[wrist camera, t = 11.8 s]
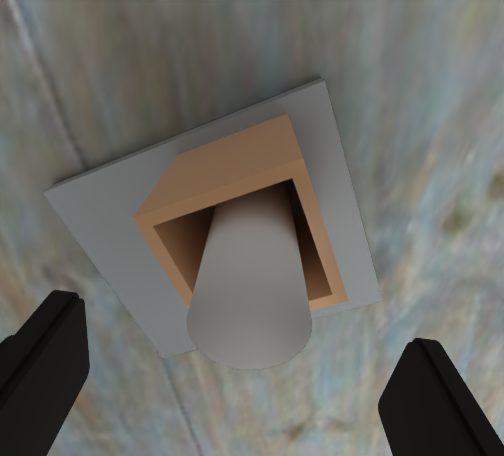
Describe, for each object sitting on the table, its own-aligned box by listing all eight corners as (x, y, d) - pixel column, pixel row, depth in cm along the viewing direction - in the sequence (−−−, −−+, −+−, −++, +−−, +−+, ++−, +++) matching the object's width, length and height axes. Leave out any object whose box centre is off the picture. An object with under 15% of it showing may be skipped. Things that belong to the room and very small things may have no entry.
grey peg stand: (166, 345, 26) (110, 528, 17) (53, 184, 20) (-145, 326, 10) (377, 288, 23) (462, 473, 13) (321, 77, 17) (403, 135, 7)
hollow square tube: (320, 216, 19) (348, 300, 13) (222, 248, 20) (206, 338, 14) (287, 113, 17) (303, 157, 11) (176, 155, 18) (132, 218, 12)
